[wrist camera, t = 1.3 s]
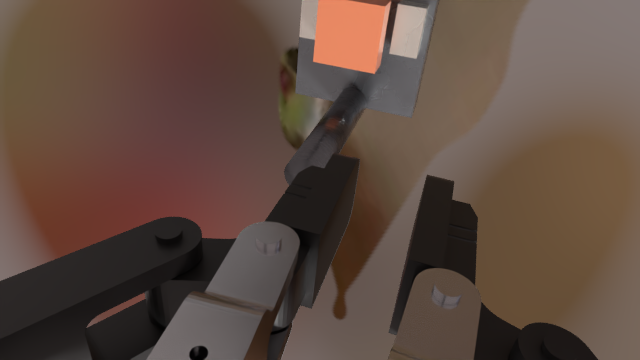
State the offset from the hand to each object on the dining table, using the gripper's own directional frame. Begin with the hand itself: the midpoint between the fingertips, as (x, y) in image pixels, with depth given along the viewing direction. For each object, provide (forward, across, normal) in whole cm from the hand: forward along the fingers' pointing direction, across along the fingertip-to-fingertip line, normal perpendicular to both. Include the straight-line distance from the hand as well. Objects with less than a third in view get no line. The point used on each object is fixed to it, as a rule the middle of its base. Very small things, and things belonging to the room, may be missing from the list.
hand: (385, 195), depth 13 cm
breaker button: (+24, +6, +1) cm, 25 cm away
